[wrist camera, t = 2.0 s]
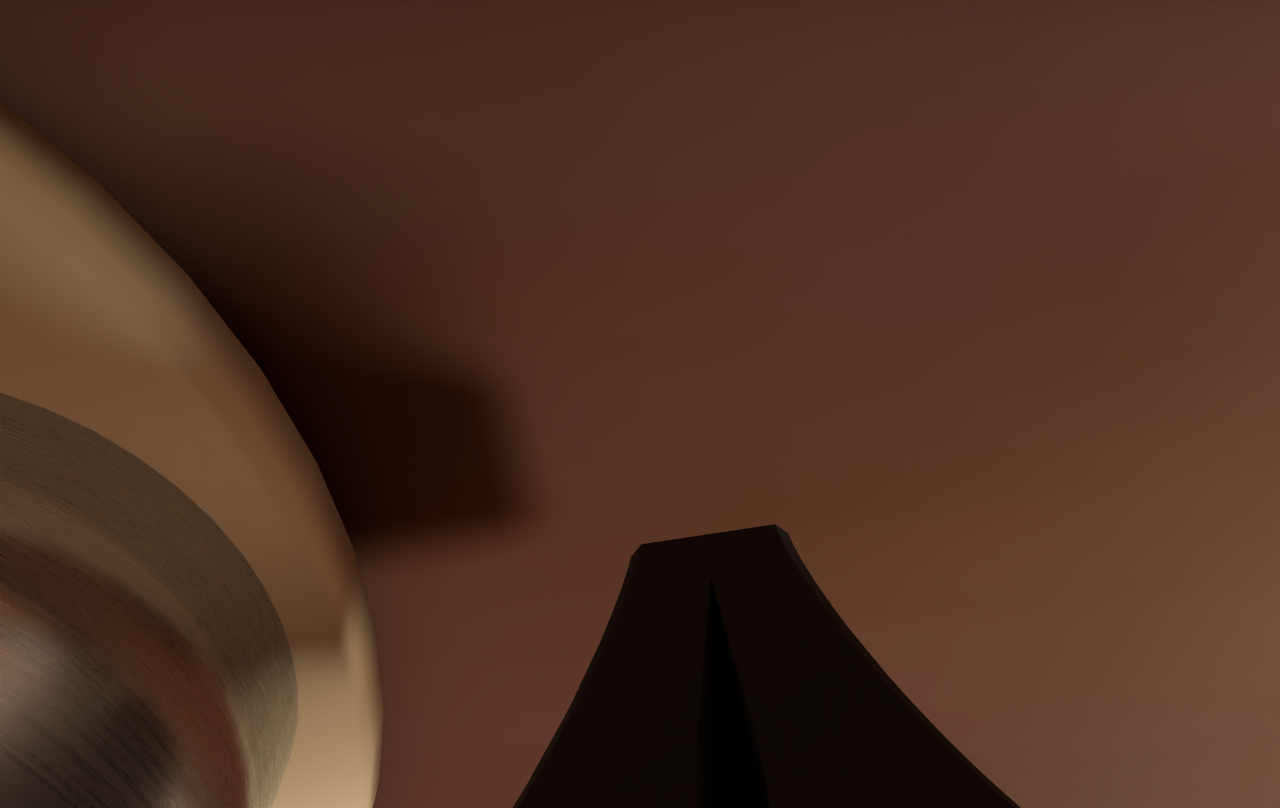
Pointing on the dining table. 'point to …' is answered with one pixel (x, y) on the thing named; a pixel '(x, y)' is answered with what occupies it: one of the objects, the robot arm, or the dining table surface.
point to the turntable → (190, 435)
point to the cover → (128, 635)
